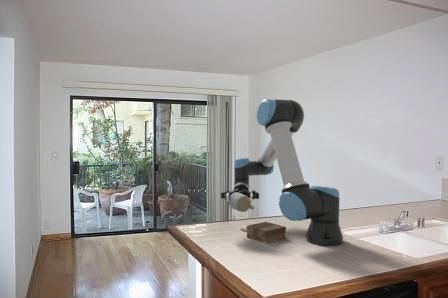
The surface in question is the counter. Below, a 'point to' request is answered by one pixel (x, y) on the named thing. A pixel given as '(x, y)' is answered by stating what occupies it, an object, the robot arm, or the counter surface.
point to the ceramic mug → (240, 202)
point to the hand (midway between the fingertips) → (239, 198)
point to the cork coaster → (243, 228)
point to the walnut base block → (266, 232)
